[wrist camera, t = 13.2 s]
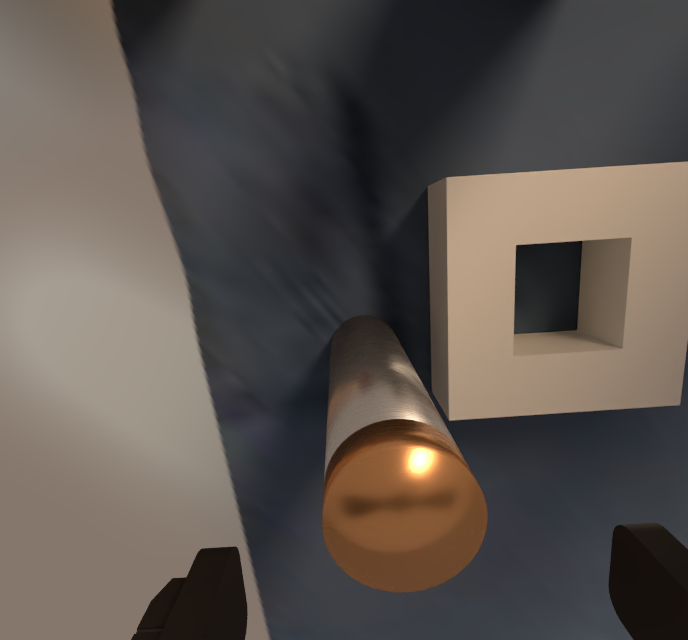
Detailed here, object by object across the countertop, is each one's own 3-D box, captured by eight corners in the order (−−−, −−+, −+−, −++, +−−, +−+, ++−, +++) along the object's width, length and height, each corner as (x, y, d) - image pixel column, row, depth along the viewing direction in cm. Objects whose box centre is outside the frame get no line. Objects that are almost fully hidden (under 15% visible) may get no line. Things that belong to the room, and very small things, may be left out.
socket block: (644, 172, 23) (708, 160, 19) (626, 378, 25) (680, 405, 21) (427, 186, 23) (446, 177, 19) (431, 391, 25) (448, 420, 21)
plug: (396, 313, 24) (488, 442, 10) (399, 377, 25) (486, 586, 10) (328, 317, 24) (315, 454, 10) (333, 382, 25) (328, 597, 10)
